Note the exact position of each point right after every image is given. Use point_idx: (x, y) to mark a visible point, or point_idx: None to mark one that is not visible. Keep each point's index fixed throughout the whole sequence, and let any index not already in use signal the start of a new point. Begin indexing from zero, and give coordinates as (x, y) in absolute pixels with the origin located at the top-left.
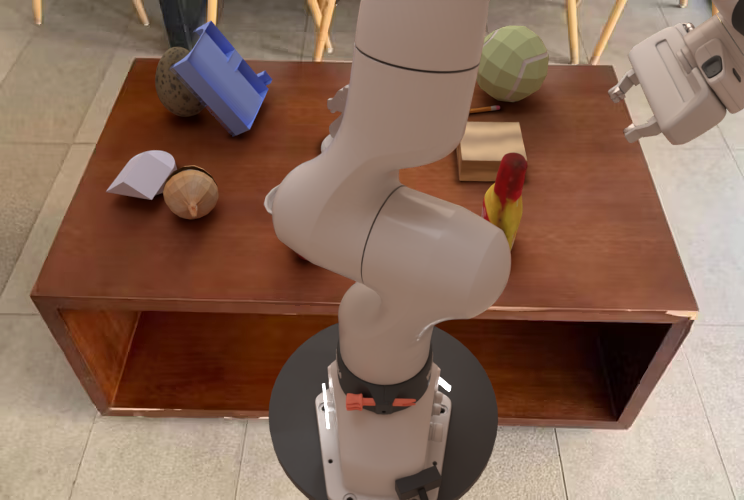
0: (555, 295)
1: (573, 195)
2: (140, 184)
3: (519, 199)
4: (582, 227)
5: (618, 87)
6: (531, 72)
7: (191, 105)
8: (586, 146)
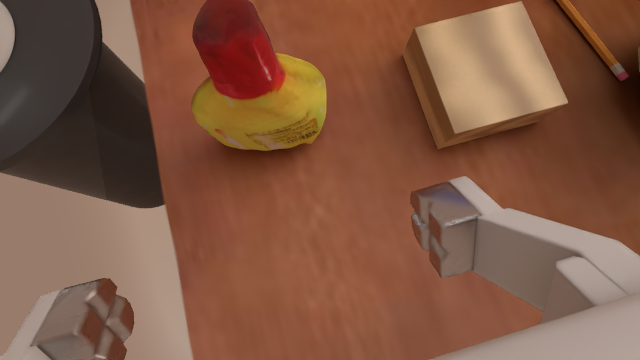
0: (191, 232)
1: None
2: None
3: (237, 102)
4: (356, 259)
5: (467, 217)
6: None
7: None
8: None
